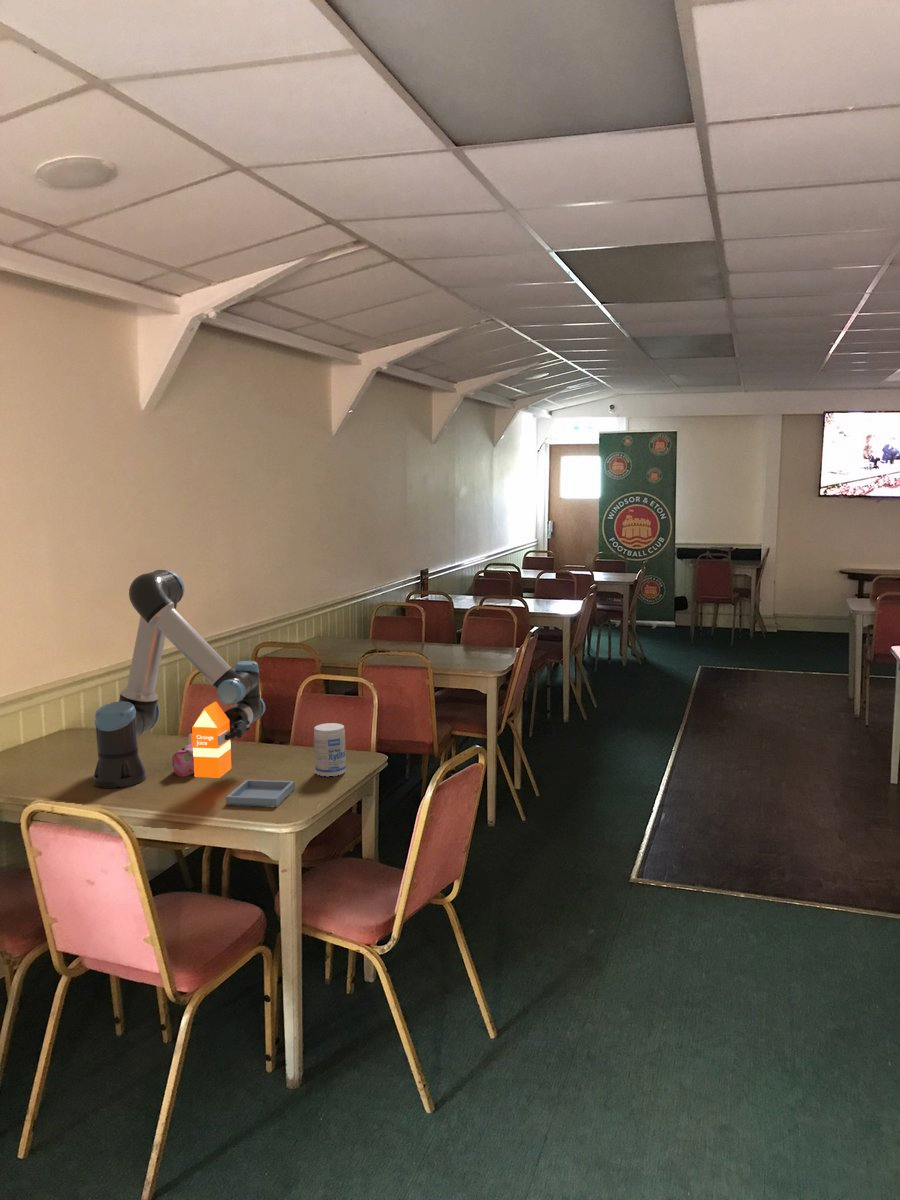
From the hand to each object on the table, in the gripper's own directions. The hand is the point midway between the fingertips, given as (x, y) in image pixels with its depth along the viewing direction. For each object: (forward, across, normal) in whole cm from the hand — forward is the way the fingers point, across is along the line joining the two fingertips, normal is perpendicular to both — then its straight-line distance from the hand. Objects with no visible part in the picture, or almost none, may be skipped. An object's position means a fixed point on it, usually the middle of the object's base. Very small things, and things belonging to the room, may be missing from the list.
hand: (204, 740), depth 259 cm
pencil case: (-32, +18, -19) cm, 41 cm away
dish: (-6, -14, -18) cm, 24 cm away
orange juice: (-5, 0, -11) cm, 12 cm away
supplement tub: (-30, -27, -18) cm, 44 cm away
